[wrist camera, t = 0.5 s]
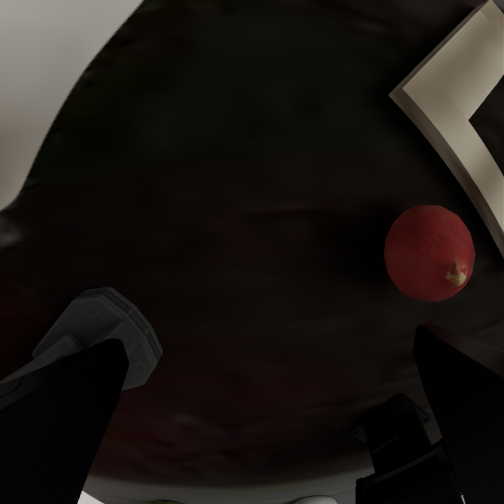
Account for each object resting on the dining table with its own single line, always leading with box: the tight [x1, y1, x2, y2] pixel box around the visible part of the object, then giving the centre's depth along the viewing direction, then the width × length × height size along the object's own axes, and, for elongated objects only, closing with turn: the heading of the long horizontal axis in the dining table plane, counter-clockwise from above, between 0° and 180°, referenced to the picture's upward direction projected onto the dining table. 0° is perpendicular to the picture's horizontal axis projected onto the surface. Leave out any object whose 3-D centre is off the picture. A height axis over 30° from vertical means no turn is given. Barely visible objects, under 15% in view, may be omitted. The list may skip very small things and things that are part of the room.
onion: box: [384, 205, 475, 302], centre depth 16 cm, size 6×6×8 cm
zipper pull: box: [0, 287, 163, 390], centre depth 23 cm, size 9×7×25 cm
